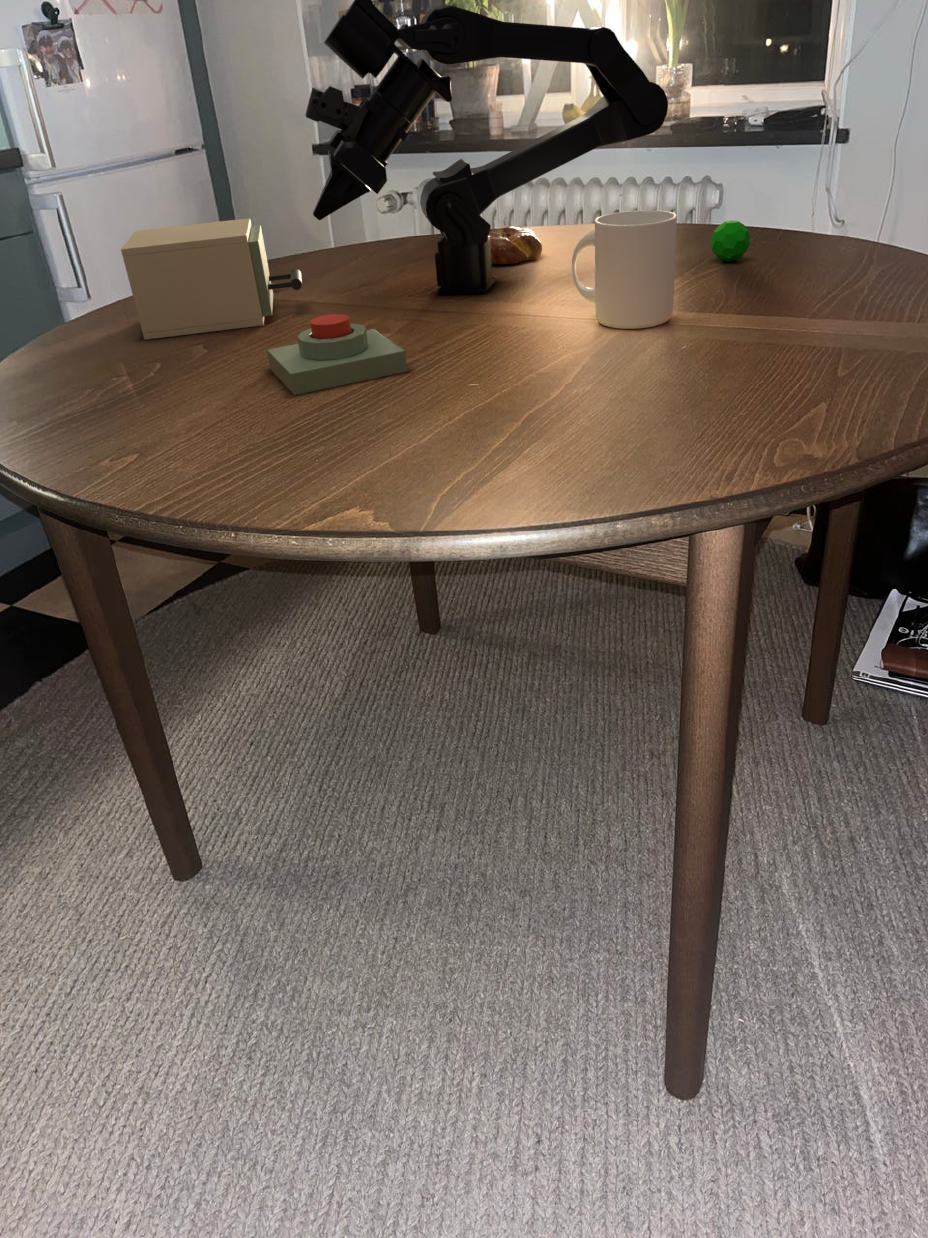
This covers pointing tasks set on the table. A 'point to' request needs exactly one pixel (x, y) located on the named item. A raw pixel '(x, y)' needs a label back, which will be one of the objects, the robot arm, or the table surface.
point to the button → (330, 326)
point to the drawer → (263, 274)
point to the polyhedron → (730, 240)
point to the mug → (631, 268)
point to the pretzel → (514, 245)
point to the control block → (336, 360)
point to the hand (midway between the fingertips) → (316, 217)
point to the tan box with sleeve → (193, 278)
